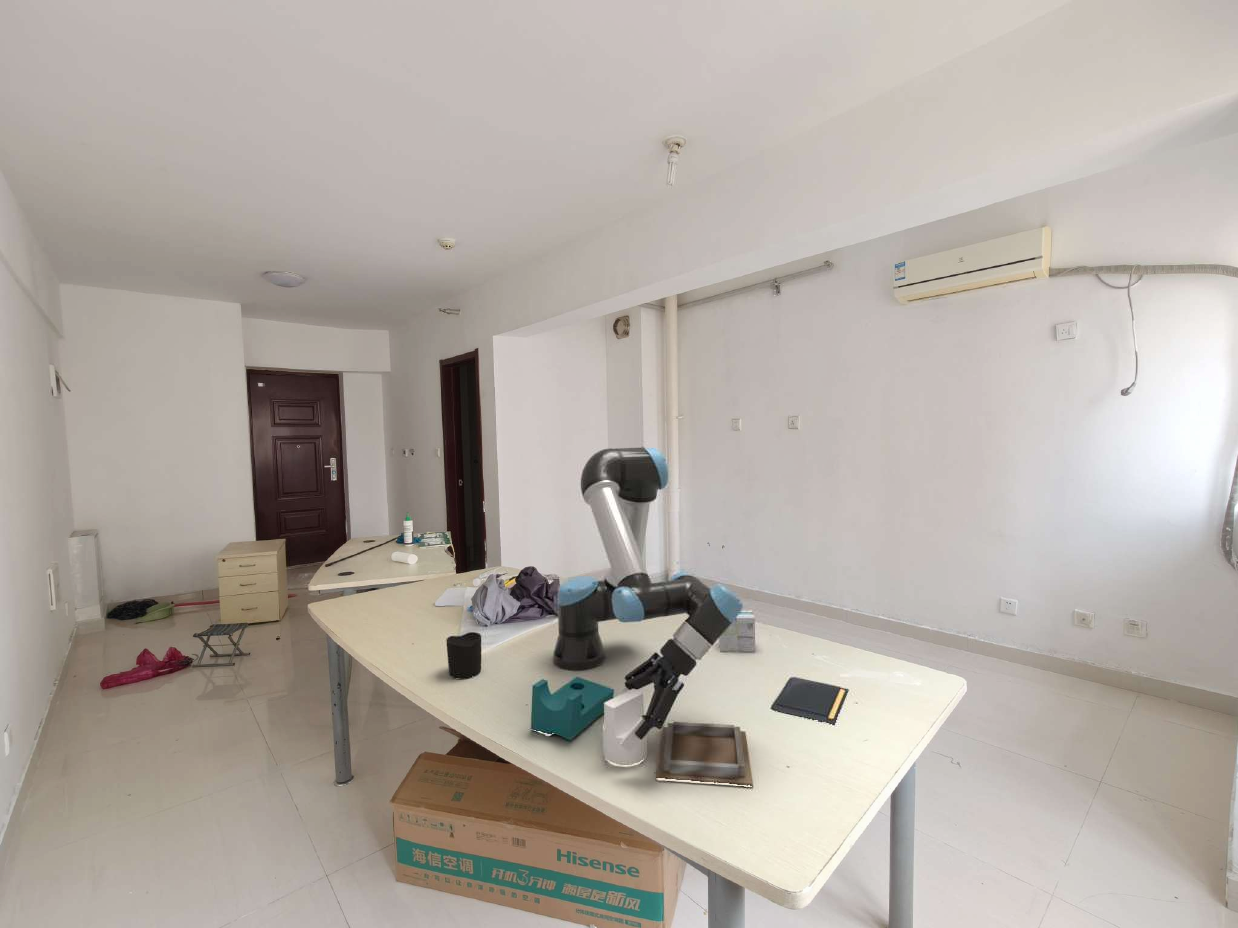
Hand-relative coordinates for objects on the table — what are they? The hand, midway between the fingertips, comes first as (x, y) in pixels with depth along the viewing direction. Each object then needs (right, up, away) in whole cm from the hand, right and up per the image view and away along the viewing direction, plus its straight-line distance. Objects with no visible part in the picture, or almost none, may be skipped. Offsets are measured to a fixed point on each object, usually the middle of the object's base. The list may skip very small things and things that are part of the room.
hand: (616, 729), depth 114 cm
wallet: (+47, -4, +22) cm, 53 cm away
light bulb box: (+36, -2, +55) cm, 66 cm away
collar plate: (+18, -5, 0) cm, 19 cm away
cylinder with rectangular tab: (+2, -6, +1) cm, 6 cm away
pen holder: (-43, -4, +42) cm, 60 cm away
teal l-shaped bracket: (-10, -5, +16) cm, 20 cm away
